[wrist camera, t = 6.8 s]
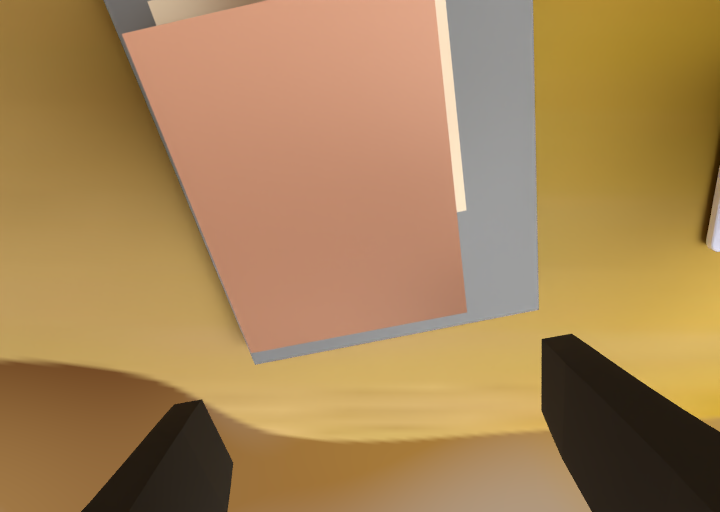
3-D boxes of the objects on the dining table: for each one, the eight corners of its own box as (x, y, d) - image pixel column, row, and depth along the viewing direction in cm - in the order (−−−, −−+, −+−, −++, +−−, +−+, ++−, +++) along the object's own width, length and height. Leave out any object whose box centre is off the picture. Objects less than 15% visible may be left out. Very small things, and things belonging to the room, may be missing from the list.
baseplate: (505, -284, 12) (526, -323, 11) (526, 291, 21) (538, 309, 19) (58, -164, 13) (26, -187, 11) (260, 343, 21) (255, 364, 20)
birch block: (414, -46, 13) (438, -70, 10) (441, 176, 16) (466, 210, 13) (191, 8, 13) (147, 1, 10) (261, 214, 17) (243, 256, 14)
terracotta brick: (391, -9, 10) (430, -38, 6) (423, 218, 13) (467, 312, 9) (211, 32, 11) (122, 33, 6) (279, 246, 13) (251, 353, 9)
